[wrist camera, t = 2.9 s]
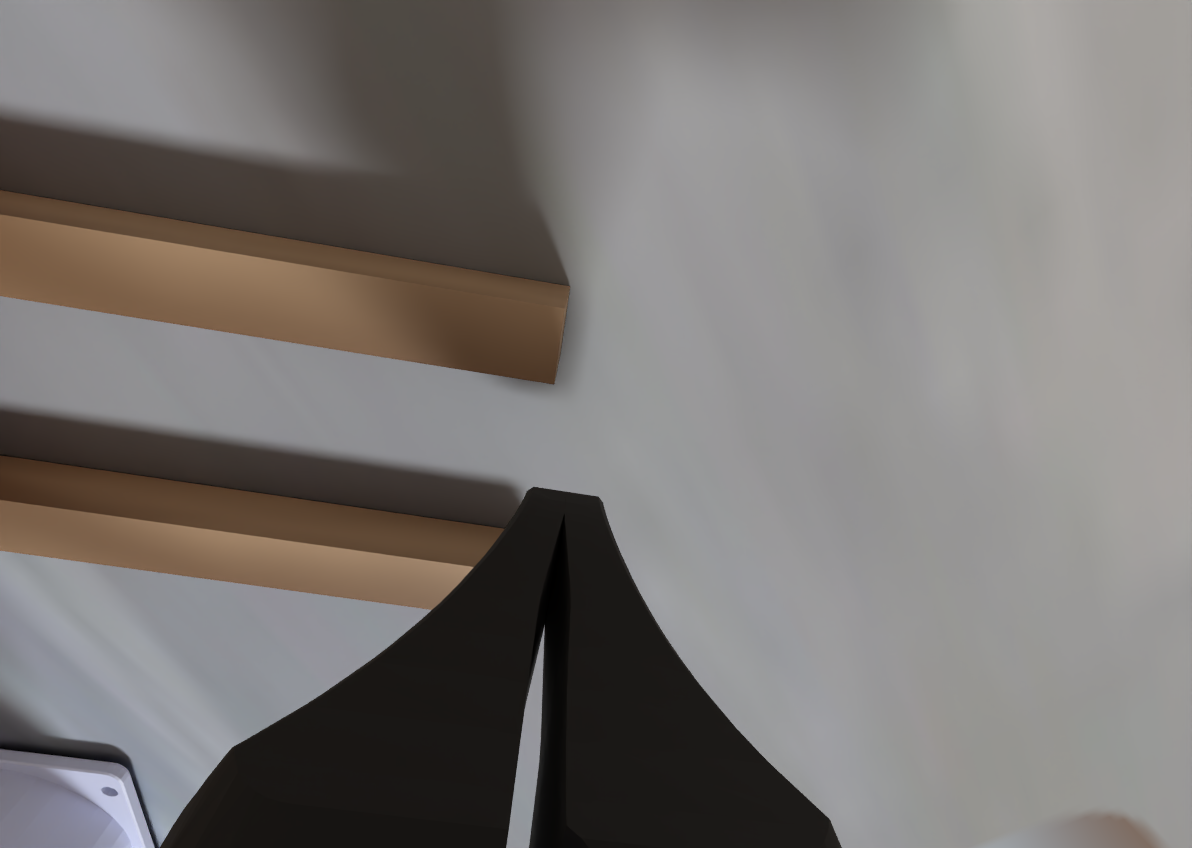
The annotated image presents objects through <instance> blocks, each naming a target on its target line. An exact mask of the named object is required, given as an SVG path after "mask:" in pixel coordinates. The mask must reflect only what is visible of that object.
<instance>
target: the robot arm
mask: <svg viewBox="0 0 1192 848" xmlns="http://www.w3.org/2000/svg"><path fill="white" fill-rule="evenodd" d="M544 625H545V635H544V664H543V695H542V725H541V746H540V760H539V770H538V779H537V787H536V795H535V804H534V812H533V820H532V828H531V836H530V845H529V848H842V847H841V845H840V842H839V840H838V838H837V836H836V833H835V831H834V828H833V826H832V824H831V821H830V819H829V818H828V817H827V816H825V815H824V814H823V813H822V812H821V811H820V810H819V809H818V808H817V807H816V806H815V805H814V804H813V803H812V802H810V801H809V800H808V799H807V798H806V797H805V796H804V795H803V794H802V793H801V792H800V791H799V790H798V789H797V788H795V787H794V786H793V785H792V784H791V783H790V782H789V781H788V780H787V779H786V778H785V777H784V776H783V775H782V774H780V773H779V772H778V771H777V770H776V769H775V768H774V767H773V766H772V765H771V764H770V763H769V762H768V761H767V760H766V759H765V758H764V757H763V756H762V755H761V754H760V753H759V752H758V751H757V750H756V749H755V748H754V747H753V746H752V744H751V743H750V742H749V741H748V740H747V739H746V738H745V737H744V736H743V735H742V734H741V733H740V732H739V731H738V730H737V729H736V728H735V726H734V725H733V724H732V723H731V722H730V720H729V719H728V718H727V717H726V716H725V714H724V713H723V712H722V711H721V710H720V709H719V707H718V706H717V705H716V704H715V703H714V701H713V700H712V699H711V698H710V697H709V695H708V694H707V693H706V692H705V691H704V689H703V688H702V687H701V686H700V685H699V683H698V682H697V681H696V679H695V678H694V677H693V675H692V674H691V672H690V671H689V670H688V668H687V667H686V666H685V664H684V663H683V662H682V660H681V659H680V657H679V656H678V654H677V653H676V651H675V650H674V649H673V647H672V646H671V644H670V643H669V641H668V640H667V638H666V637H665V635H664V634H663V632H662V630H661V629H660V627H659V626H658V624H657V622H656V621H655V619H654V617H653V616H652V614H651V612H650V610H649V608H648V607H647V605H646V603H645V601H644V600H643V598H642V596H641V594H640V592H639V590H638V588H637V586H636V585H635V583H634V581H633V579H632V577H631V574H630V572H629V570H628V568H627V566H626V564H625V562H624V559H623V557H622V555H621V553H620V551H619V548H618V546H617V543H616V541H615V538H614V536H613V533H612V531H611V528H610V525H609V522H608V519H607V516H606V513H605V509H604V505H603V502H602V501H601V500H600V498H599V497H597V496H590V495H584V494H577V493H571V492H564V491H557V490H551V489H544V488H538V487H533V488H531V489H530V490H528V491H527V493H526V495H525V497H524V499H523V501H522V503H521V505H520V507H519V508H518V510H517V512H516V513H515V515H514V516H513V518H512V519H511V521H510V522H509V524H508V525H507V527H506V528H505V529H504V531H503V532H502V533H501V535H500V536H499V537H498V539H497V540H496V541H495V542H494V544H493V545H492V546H491V548H490V549H489V550H488V551H487V553H486V554H485V555H484V556H483V558H482V559H481V560H480V561H479V562H478V563H477V564H476V565H475V566H474V568H473V569H472V570H471V571H470V572H469V573H468V574H467V575H466V576H465V578H464V579H463V580H462V581H461V582H460V583H459V584H458V585H457V586H456V587H455V588H454V589H453V590H452V591H451V592H450V593H449V594H448V595H447V596H446V597H445V598H444V599H443V600H442V601H441V602H440V603H439V604H438V605H437V606H436V607H435V608H434V609H433V610H431V611H430V612H429V613H428V614H427V615H426V616H425V617H424V618H423V619H422V620H420V621H419V622H418V623H417V624H416V625H415V626H413V627H412V628H411V629H410V630H409V631H407V632H406V633H405V634H404V635H403V636H401V637H400V638H399V639H398V640H396V641H395V642H394V643H393V644H392V645H390V646H389V647H388V648H387V649H385V650H384V651H383V652H381V653H380V654H379V655H377V656H376V657H375V658H373V659H372V660H371V661H369V662H368V663H366V664H365V665H364V666H362V667H361V668H359V669H358V670H356V671H355V672H353V673H352V674H351V675H349V676H348V677H346V678H345V679H343V680H342V681H340V682H339V683H338V684H336V685H335V686H333V687H332V688H330V689H329V690H328V691H326V692H325V693H323V694H322V695H320V696H319V697H317V698H315V699H314V700H312V701H311V702H309V703H308V704H306V705H304V706H303V707H301V708H299V709H298V710H296V711H294V712H292V713H291V714H289V715H287V716H286V717H284V718H282V719H281V720H279V721H277V722H276V723H274V724H272V725H270V726H269V727H267V728H265V729H264V730H262V731H260V732H259V733H257V734H255V735H253V736H252V737H250V738H248V739H247V740H245V741H243V742H241V743H239V744H238V745H236V746H234V747H232V748H231V750H230V751H229V752H228V753H227V754H226V756H225V757H224V758H223V759H222V760H221V762H220V763H219V764H218V765H217V767H216V768H215V769H214V771H213V772H212V773H211V774H210V776H209V777H208V778H207V779H206V781H205V782H204V783H203V785H202V786H201V788H200V789H199V790H198V792H197V793H196V794H195V796H194V797H193V798H192V799H191V801H190V802H189V803H188V804H187V806H186V807H185V809H184V810H183V811H182V813H181V814H180V816H179V817H178V819H177V821H176V822H175V824H174V825H173V827H172V828H171V830H170V832H169V833H168V835H167V837H166V838H165V840H164V842H163V843H162V845H161V847H160V848H506V844H507V837H508V830H509V823H510V815H511V807H512V799H513V792H514V784H515V777H516V769H517V761H518V754H519V746H520V739H521V731H522V724H523V716H524V709H525V705H526V700H527V696H528V692H529V688H530V684H531V680H532V675H533V671H534V667H535V663H536V659H537V654H538V650H539V646H540V642H541V638H542V634H543V629H544ZM0 848H155V847H154V844H153V841H152V838H151V835H150V832H149V829H148V826H147V823H146V820H145V817H144V814H143V812H142V809H141V806H140V803H139V800H138V797H137V794H136V791H135V788H134V785H133V782H132V779H131V776H130V773H129V771H128V769H127V768H125V767H124V766H122V765H120V764H117V763H113V762H105V761H97V760H89V759H80V758H72V757H64V756H55V755H47V754H39V753H30V752H22V751H13V750H5V749H0Z"/></svg>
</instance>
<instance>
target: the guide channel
mask: <svg viewBox="0 0 1192 848" xmlns="http://www.w3.org/2000/svg"><path fill="white" fill-rule="evenodd" d="M569 291H570V286H565V285H559V284H553V283H547V282H541V281H535V280H529V279H523V278H517V277H511V276H506V275H500V274H494V273H488V272H482V271H476V270H470V269H464V268H458V267H452V266H446V265H440V264H435V263H429V262H423V261H417V260H411V259H405V258H399V257H393V256H387V255H381V254H375V253H369V252H364V251H358V250H352V249H346V248H340V247H334V246H328V245H322V244H316V243H310V242H304V241H298V240H293V239H287V238H281V237H275V236H269V235H263V234H257V233H251V232H245V231H239V230H233V229H227V228H222V227H216V226H210V225H204V224H198V223H192V222H186V221H180V220H174V219H168V218H162V217H156V216H151V215H145V214H139V213H133V212H127V211H121V210H115V209H109V208H103V207H97V206H91V205H85V204H80V203H74V202H68V201H62V200H56V199H50V198H44V197H38V196H32V195H26V194H20V193H14V192H9V191H3V190H0V296H4V297H10V298H16V299H23V300H29V301H35V302H41V303H48V304H54V305H60V306H66V307H73V308H79V309H85V310H91V311H98V312H104V313H110V314H116V315H123V316H129V317H135V318H142V319H148V320H154V321H160V322H167V323H173V324H179V325H185V326H192V327H198V328H204V329H210V330H217V331H223V332H229V333H235V334H242V335H248V336H254V337H261V338H267V339H273V340H279V341H286V342H292V343H298V344H304V345H311V346H317V347H323V348H329V349H336V350H342V351H348V352H354V353H361V354H367V355H373V356H380V357H386V358H392V359H398V360H405V361H411V362H417V363H423V364H430V365H436V366H442V367H448V368H455V369H461V370H467V371H473V372H480V373H486V374H492V375H499V376H505V377H511V378H517V379H524V380H530V381H536V382H542V383H549V384H554V382H555V378H556V373H557V368H558V363H559V359H560V353H561V346H562V339H563V332H564V325H565V319H566V312H567V305H568V298H569ZM503 531H504V529H503V528H496V527H489V526H482V525H475V524H468V523H462V522H455V521H448V520H441V519H434V518H427V517H420V516H413V515H407V514H400V513H393V512H386V511H379V510H372V509H365V508H358V507H352V506H345V505H338V504H331V503H324V502H317V501H310V500H304V499H297V498H290V497H283V496H276V495H269V494H262V493H255V492H249V491H242V490H235V489H228V488H221V487H214V486H207V485H201V484H194V483H187V482H180V481H173V480H166V479H159V478H152V477H146V476H139V475H132V474H125V473H118V472H111V471H104V470H97V469H91V468H84V467H77V466H70V465H63V464H56V463H49V462H43V461H36V460H29V459H22V458H15V457H8V456H1V455H0V551H7V552H15V553H22V554H29V555H37V556H44V557H51V558H58V559H66V560H73V561H80V562H88V563H95V564H102V565H109V566H117V567H124V568H131V569H139V570H146V571H153V572H160V573H168V574H175V575H182V576H190V577H197V578H204V579H211V580H219V581H226V582H233V583H241V584H248V585H255V586H262V587H270V588H277V589H284V590H292V591H299V592H306V593H314V594H321V595H328V596H335V597H343V598H350V599H357V600H365V601H372V602H379V603H386V604H394V605H401V606H408V607H416V608H423V609H430V610H433V609H434V608H435V607H436V606H437V605H438V604H439V603H440V602H441V601H442V600H443V599H444V598H445V597H446V596H447V595H448V594H449V593H450V592H451V591H452V590H453V589H454V588H455V587H456V586H457V585H458V584H459V583H460V582H461V581H462V580H463V579H464V578H465V576H466V575H467V574H468V573H469V572H470V571H471V570H472V569H473V568H474V566H475V565H476V564H477V563H478V562H479V561H480V560H481V559H482V558H483V556H484V555H485V554H486V553H487V551H488V550H489V549H490V548H491V546H492V545H493V544H494V542H495V541H496V540H497V539H498V537H499V536H500V535H501V533H502V532H503Z"/></svg>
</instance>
